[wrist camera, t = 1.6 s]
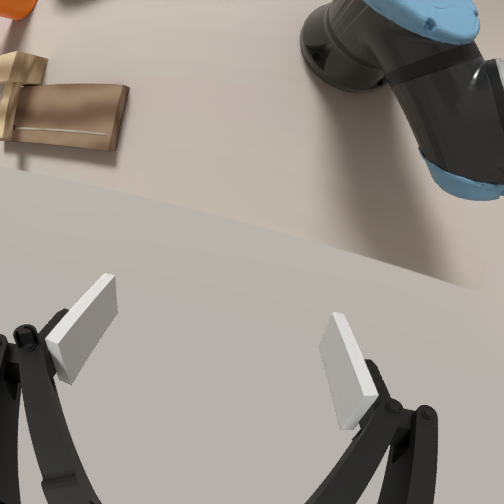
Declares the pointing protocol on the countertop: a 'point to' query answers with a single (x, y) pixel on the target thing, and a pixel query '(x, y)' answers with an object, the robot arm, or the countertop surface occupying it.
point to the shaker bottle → (16, 8)
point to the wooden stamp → (17, 83)
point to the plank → (70, 115)
